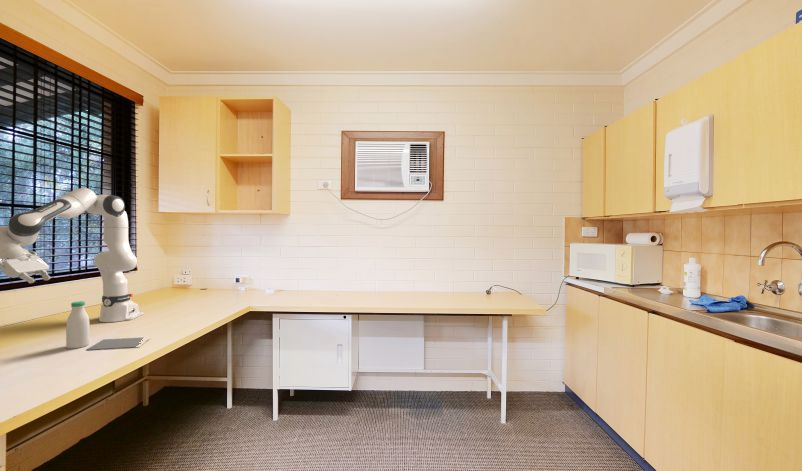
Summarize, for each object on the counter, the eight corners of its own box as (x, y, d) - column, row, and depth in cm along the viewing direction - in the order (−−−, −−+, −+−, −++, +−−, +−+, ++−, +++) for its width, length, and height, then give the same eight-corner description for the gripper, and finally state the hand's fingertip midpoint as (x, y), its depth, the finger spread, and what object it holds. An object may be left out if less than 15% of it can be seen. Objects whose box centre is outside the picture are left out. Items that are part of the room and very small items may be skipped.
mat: (86, 350, 155) (86, 349, 155) (103, 340, 169) (103, 339, 169) (139, 347, 161) (139, 346, 160) (151, 337, 174) (151, 337, 174)
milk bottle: (93, 344, 162) (93, 301, 162) (73, 350, 155) (73, 304, 155) (82, 342, 165) (82, 299, 164) (62, 347, 158) (62, 303, 157)
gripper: (1, 254, 144) (30, 278, 146) (37, 251, 163) (62, 273, 166) (-14, 264, 142) (16, 289, 145) (24, 260, 162) (49, 282, 165)
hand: (40, 280), depth 156 cm, fingers open, 8 cm apart
